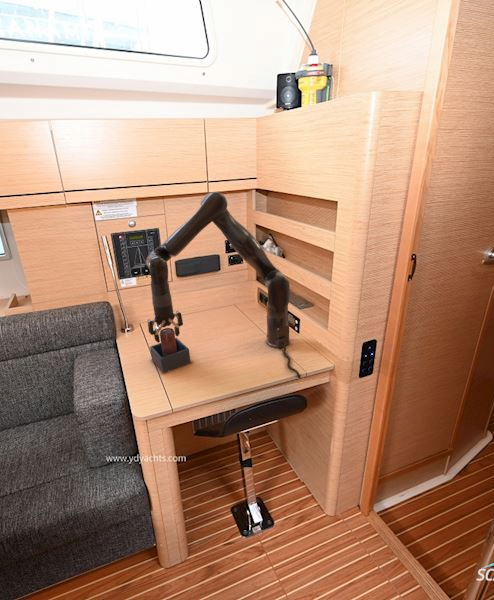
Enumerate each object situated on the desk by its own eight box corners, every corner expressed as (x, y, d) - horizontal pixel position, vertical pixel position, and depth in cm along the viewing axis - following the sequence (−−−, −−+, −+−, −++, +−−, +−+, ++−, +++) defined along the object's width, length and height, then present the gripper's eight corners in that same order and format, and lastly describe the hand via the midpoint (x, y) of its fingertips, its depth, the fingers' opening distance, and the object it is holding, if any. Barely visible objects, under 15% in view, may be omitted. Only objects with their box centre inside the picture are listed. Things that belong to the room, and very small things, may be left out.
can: (164, 365, 140) (160, 335, 135) (163, 357, 146) (158, 328, 141) (179, 362, 142) (175, 332, 136) (177, 354, 147) (173, 326, 142)
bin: (190, 362, 142) (189, 348, 140) (163, 373, 136) (160, 359, 134) (178, 350, 152) (176, 337, 150) (152, 360, 146) (149, 346, 144)
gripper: (148, 310, 127) (155, 347, 134) (182, 301, 134) (187, 336, 140) (142, 304, 133) (148, 340, 140) (174, 296, 140) (179, 330, 146)
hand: (167, 338), depth 140 cm, fingers open, 8 cm apart
